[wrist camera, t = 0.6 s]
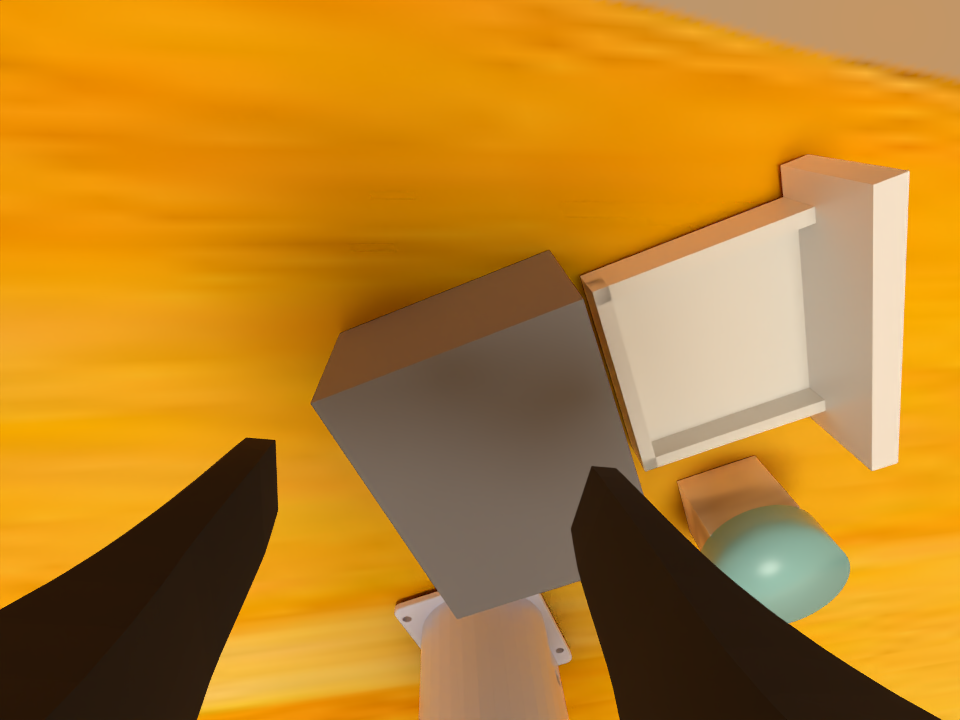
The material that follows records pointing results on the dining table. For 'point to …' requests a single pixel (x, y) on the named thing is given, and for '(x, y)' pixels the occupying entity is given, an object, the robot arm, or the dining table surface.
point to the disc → (780, 559)
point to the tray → (766, 319)
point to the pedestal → (728, 495)
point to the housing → (480, 428)
